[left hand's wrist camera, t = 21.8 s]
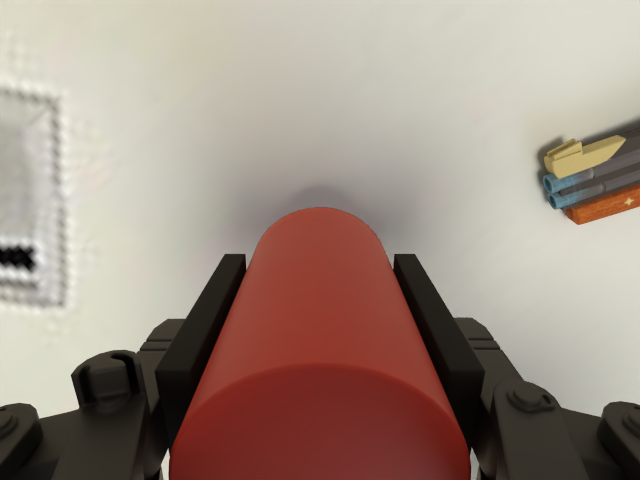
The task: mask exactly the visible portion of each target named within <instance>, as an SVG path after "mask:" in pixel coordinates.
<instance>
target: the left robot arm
mask: <svg viewBox="0 0 640 480" xmlns="http://www.w3.org/2000/svg"><path fill="white" fill-rule="evenodd" d="M393 271H394V274H395V276H396V278H397V281H398V283H399V285H400V288H401V290H402V292H403V295H404V297H405V300H406V302H407V304H408V307H409V309H410V311H411V314H412V316H413V318H414V321H415V323H416V325H417V328H418V330H419V332H420V335H421V337H422V340H423V342H424V344H425V347H426V349H427V351H428V354H429V356H430V358H431V361H432V363H433V365H434V368H435V370H436V373H437V375H438V377H439V380H440V382H441V384H442V387H443V389H444V391H445V394H446V396H447V398H448V401H449V403H450V406H451V408H452V410H453V413H454V415H455V417H456V420H457V422H458V424H459V427H460V429H461V431H462V434H463V436H464V438H465V442H466V445H467V448H468V451H469V455H470V453H471V447H472V448H473V450H474V453H475V455H476V457H477V460H478V462H479V468H478V473H477V478H476V480H640V405H637V404H635V403H628V402H622V401H619V402H612V403H609V404H608V405H607V406H605V407H604V409H603V412H602V415H601V417H598V416H593V415H589V414H584V413H580V412H576V411H571V410H568V409H564V408H561V406H560V405H559V403H558V402H557V400H556V399H555V397H553V396H552V395H551V394H550V393H549V392H547V391H546V390H545V389H543V388H541V387H539V386H537V385H535V384H533V383H530V382H526V381H524V380H523V379H522V377H521V376H520V374H519V373H518V372H517V370H516V369H515V367H514V366H513V365H512V363H511V362H510V360H509V359H508V358H507V356H506V355H505V354H504V352H503V351H502V350H500V347H499V345H498V344H497V342H496V341H494V338H493V337H492V335H491V334H490V333H489V331H488V330H487V329H486V327H485V326H483V325H482V324H480V323H479V322H477V321H476V320H474V319H473V318H453V317H452V315H451V313H450V312H449V310H448V308H447V307H446V305H445V303H444V302H443V300H442V298H441V297H440V295H439V293H438V292H437V290H436V288H435V287H434V285H433V283H432V282H431V280H430V278H429V277H428V275H427V274H426V272H425V270H424V269H423V267H422V265H421V264H420V262H419V260H418V259H417V257H416V255H415V254H394V268H393ZM245 273H246V258H245V254H225V255H224V257H223V258H222V260H221V261H220V263H219V265H218V266H217V268H216V270H215V271H214V273H213V275H212V276H211V278H210V280H209V281H208V283H207V285H206V286H205V288H204V290H203V291H202V293H201V295H200V296H199V298H198V300H197V301H196V303H195V305H194V306H193V308H192V310H191V311H190V313H189V315H188V316H187V318H186V319H167V320H166V321H164V322H163V323H161V324H160V325H159V326H157V327H156V328H154V330H153V331H152V332H151V334H150V335H149V337H148V338H147V339H146V342H144V344H143V345H142V346H141V348H140V351H138V352H137V353H135V352H132V351H127V350H113V351H109V352H105V353H101V354H98V355H96V356H94V357H92V358H90V359H87V360H86V361H85V362H83V363H82V364H80V365H79V366H78V367H77V368H76V369H75V370H74V372H73V373H72V374H71V378H72V381H73V385H74V388H75V392H76V396H77V399H78V403H79V409H78V410H74V411H71V412H67V413H63V414H58V415H54V416H49V417H45V418H41V419H39V416H38V413H37V410H36V409H35V408H34V407H33V406H32V405H30V404H23V403H16V404H10V405H5V406H2V407H0V480H163V474H162V468H161V463H162V461H163V459H164V456H165V454H166V452H167V449H169V454H170V455H171V451H172V446H173V444H174V441H175V439H176V437H177V434H178V432H179V430H180V427H181V425H182V422H183V420H184V418H185V415H186V413H187V411H188V408H189V406H190V404H191V401H192V399H193V396H194V394H195V392H196V389H197V387H198V385H199V382H200V380H201V377H202V375H203V373H204V370H205V368H206V366H207V363H208V361H209V359H210V356H211V354H212V351H213V349H214V347H215V344H216V342H217V340H218V337H219V335H220V332H221V330H222V328H223V325H224V323H225V321H226V318H227V316H228V314H229V311H230V309H231V306H232V304H233V302H234V299H235V297H236V295H237V292H238V290H239V287H240V285H241V283H242V280H243V278H244V276H245Z"/></svg>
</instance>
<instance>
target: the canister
mask: <svg viewBox="0 0 640 480" xmlns="http://www.w3.org/2000/svg"><path fill="white" fill-rule="evenodd" d="M169 480H471V462H470V455H469V451H468V448H467V445H466V442H465V438H464V436H463V434H462V431H461V429H460V427H459V424H458V422H457V420H456V417H455V415H454V413H453V410H452V408H451V406H450V403H449V401H448V398H447V396H446V394H445V391H444V389H443V387H442V384H441V382H440V380H439V377H438V375H437V373H436V370H435V368H434V365H433V363H432V361H431V358H430V356H429V354H428V351H427V349H426V347H425V344H424V342H423V340H422V337H421V335H420V332H419V330H418V328H417V325H416V323H415V321H414V318H413V316H412V314H411V311H410V309H409V307H408V304H407V302H406V300H405V297H404V295H403V292H402V290H401V288H400V285H399V283H398V281H397V278H396V276H395V274H394V271H393V269H392V267H391V264H390V262H389V259H388V257H387V255H386V252H385V250H384V248H383V246H382V244H381V242H380V240H379V238H378V237H377V235H376V234H375V233H374V231H373V230H372V229H371V228H370V227H369V226H368V225H367V224H365V223H364V222H363V221H362V220H360V219H358V218H357V217H355V216H354V215H351V214H349V213H347V212H344V211H341V210H337V209H332V208H321V207H316V208H307V209H303V210H298V211H296V212H293V213H290V214H288V215H286V216H285V217H283V218H281V219H280V220H278V221H277V222H275V223H274V224H273V225H272V226H271V227H270V228H269V229H268V230H267V231H266V232H265V234H264V235H263V236H262V238H261V239H260V241H259V243H258V245H257V247H256V250H255V252H254V254H253V257H252V259H251V261H250V264H249V266H248V268H247V271H246V273H245V276H244V278H243V280H242V283H241V285H240V287H239V290H238V292H237V295H236V297H235V299H234V302H233V304H232V306H231V309H230V311H229V314H228V316H227V318H226V321H225V323H224V325H223V328H222V330H221V332H220V335H219V337H218V340H217V342H216V344H215V347H214V349H213V351H212V354H211V356H210V359H209V361H208V363H207V366H206V368H205V370H204V373H203V375H202V377H201V380H200V382H199V385H198V387H197V389H196V392H195V394H194V396H193V399H192V401H191V404H190V406H189V408H188V411H187V413H186V415H185V418H184V420H183V422H182V425H181V427H180V430H179V432H178V434H177V437H176V439H175V441H174V444H173V446H172V451H171V455H170V459H169Z"/></svg>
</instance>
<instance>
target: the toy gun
mask: <svg viewBox="0 0 640 480" xmlns="http://www.w3.org/2000/svg"><path fill="white" fill-rule="evenodd" d="M544 162H545V166H546V169H547V171H548V172H549V173H550V174H548V175H545V176H543V184H544V187H545V189H546V190H547V192H548V200H549V203H550V205H551V206H552V208H553V209H559V208H561V209H562V210H565V209H566V215H567V216H568V218H569V219H571V220H572V221H573V222H575V223H576V224H577V225H580V224H584V223H588V222H591V221H594V220H597V219H600V218H604V217H607V216H610V215H613V214H617V213H620V212H623V211H626V210H630V209H633V208H636V207H639V206H640V128H638V129H635V130H633V131H630V132H627V133H624V134H621V135H615V136H612V137H609V138H606V139H603V140H600V141H597V142H594V143H592V144H589V145H586V146H583V147H582V144H581V142H580V141H579V142H577V143H575V139H571V140H569V141H567V142H566V143H564V144H562V145H560V146H558V147H556V148H554V149H552V150H551V151H549V152H547V156H545V157H544Z"/></svg>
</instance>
